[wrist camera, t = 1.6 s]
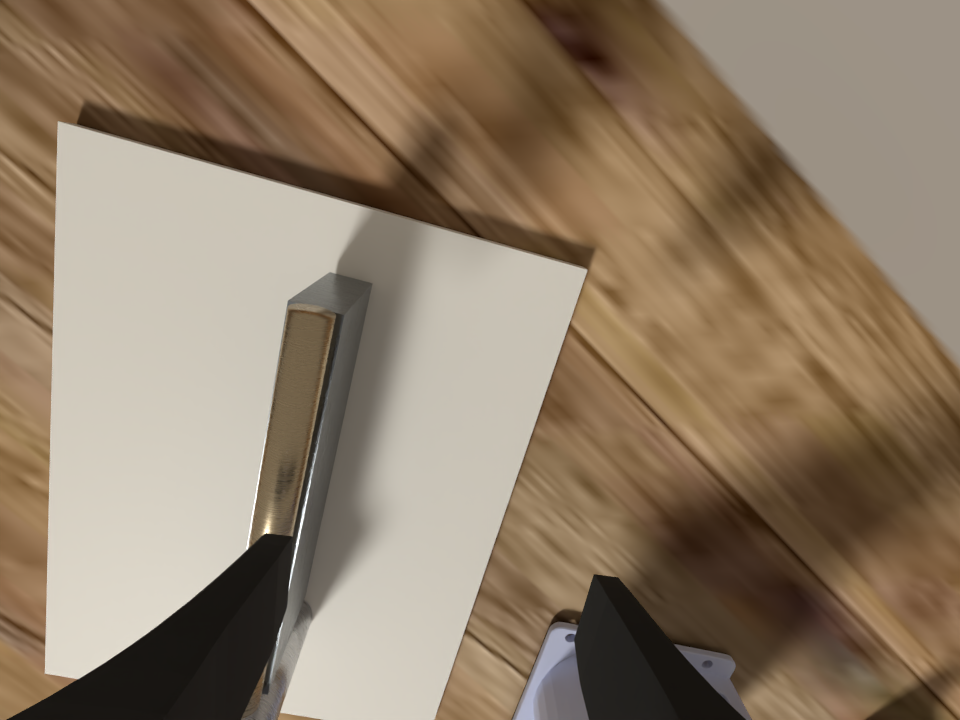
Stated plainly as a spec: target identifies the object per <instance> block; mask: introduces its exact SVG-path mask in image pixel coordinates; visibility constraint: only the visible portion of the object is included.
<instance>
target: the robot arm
mask: <svg viewBox="0 0 960 720" xmlns="http://www.w3.org/2000/svg"><path fill="white" fill-rule="evenodd" d="M292 542H293V536H285V535H277V534H269V533H266V534H264V535H263V536H261V537H260V538H259V539H258V540H257V541H256V542H255V543H254V544H253V545H252V546H251V547H250V548H248V549H247V550H246V551H245V552H244V553H243V554H242V555H241V556H240V557H239V558H238V559H237V560H236V561H235V562H234V563H232V564H231V565H230V566H229V567H228V568H227V569H226V570H225V571H224V572H223V573H221V574H220V575H219V576H218V577H217V578H216V579H214V580H213V581H212V582H211V583H210V584H209V585H207V586H206V587H205V588H204V589H203V590H202V591H201V592H199V593H198V594H197V595H196V596H195V597H193V598H192V599H191V600H190V601H189V602H187V603H186V604H185V605H183V606H182V607H181V608H180V609H178V610H177V611H176V612H175V613H173V614H172V615H171V616H169V617H168V618H167V619H166V620H164V621H163V622H162V623H160V624H159V625H158V626H157V627H155V628H154V629H153V630H151V631H150V632H148V633H147V634H146V635H144V636H143V637H142V638H140V639H139V640H137V641H136V642H134V643H133V644H132V645H130V646H129V647H127V648H126V649H124V650H123V651H121V652H120V653H118V654H117V655H115V656H114V657H113V658H111V659H110V660H108V661H107V662H105V663H103V664H102V665H100V666H99V667H97V668H95V669H94V670H92V671H91V672H89V673H87V674H86V675H84V676H83V677H81V678H79V679H78V680H76V681H74V682H73V683H71V684H69V685H68V686H66V687H64V688H63V689H61V690H59V691H58V692H56V693H54V694H53V695H51V696H49V697H48V698H46V699H44V700H42V701H40V702H39V703H37V704H35V705H33V706H31V707H29V708H28V709H26V710H24V711H22V712H20V713H18V714H16V715H15V716H13V717H11V718H9V719H7V720H241V718H242V716H243V714H244V712H245V710H246V708H247V705H248V703H249V701H250V699H251V697H252V695H253V692H254V690H255V688H256V686H257V684H258V682H259V679H260V677H261V675H262V673H263V671H264V668H265V666H266V664H267V662H268V660H269V657H270V655H271V653H272V651H273V648H274V645H275V642H276V639H277V636H278V633H279V630H280V627H281V624H282V621H283V618H284V615H285V612H286V609H287V605H288V592H289V580H290V567H291V555H292ZM568 634H572V635H568ZM735 667H736V665H735V662H734V660H733V659H732V657H731V656H730V655H727V654H722V653H717V652H712V651H707V650H702V649H697V648H692V647H687V646H682V645H677V644H673V643H672V642H671V641H670V639H669V638H668V637H667V636H666V635H665V633H664V632H663V631H662V630H661V629H660V627H659V626H658V625H657V624H656V623H655V621H654V620H653V619H652V618H651V617H650V615H649V614H648V613H647V612H646V611H645V609H644V608H643V607H642V606H641V604H640V603H639V602H638V601H637V599H636V598H635V597H634V596H633V595H632V593H631V592H630V591H629V590H628V588H627V587H626V586H625V585H624V584H623V583H622V581H621V580H620V579H619V578H618V577H610V576H602V575H594V576H593V579H592V582H591V586H590V589H589V592H588V595H587V599H586V602H585V605H584V609H583V612H582V615H581V618H580V622H579V625H575V624H570V623H565V622H556V623H554V624H552V625H551V626H550V628H549V630H548V633H547V635H546V638H545V640H544V643H543V645H542V647H541V650H540V652H539V655H538V657H537V660H536V662H535V665H534V667H533V670H532V672H531V675H530V677H529V680H528V682H527V685H526V687H525V690H524V692H523V694H522V697H521V699H520V702H519V704H518V707H517V709H516V712H515V714H514V717H513V719H512V720H752V719H751V717H750V715H749V713H748V712H747V710H746V708H745V706H744V704H743V702H742V700H741V699H740V697H739V695H738V693H737V691H736V689H735V687H734V686H733V684H732V682H731V680H730V677H731V675H732V673H733V672H734V670H735Z"/></svg>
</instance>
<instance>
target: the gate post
mask: <svg viewBox="0 0 960 720" xmlns="http://www.w3.org/2000/svg"><path fill="white" fill-rule="evenodd" d="M312 616H313V615H312V609H311V607H310V605H309V604H308V603H307V602H306V601H305V600H304V601H303V604H302V606H301V609H300V612H299V614H298V617H297V620H296V622H295V625H294V627H293V630H292V633H291V635H290V638H289V641H288V643H287V646H286V648H285V651H284V654H283V656H282V659H281V662H280V664H279V667H278V670H277V672H276V675H275V677H274V680H273V683H272V685H271V688H270V691H269V693H268V695H266V694H262V695H261V700H260V704H259V707H258V708H257V710H256V711H255V712H254V713H253V714H252V715H250V716H249V717H246V718H244V719H241V720H278V717H279V714H280V711H281V708H282V705H283V702H284V699H285V697H286V694H287V691H288V688H289V685H290V682H291V679H292V676H293V673H294V670H295V667H296V665H297V662H298V659H299V656H300V653H301V650H302V647H303V644H304V641H305V638H306V636H307V633H308V630H309V627H310V624H311V621H312Z"/></svg>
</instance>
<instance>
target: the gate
mask: <svg viewBox="0 0 960 720" xmlns="http://www.w3.org/2000/svg"><path fill="white" fill-rule="evenodd" d="M372 284H373V283H369V282H365V281H362V280H358V279H354V278H350V277H346V276H343V275H339V274H335V273H331V272H329V273H328V274H326V275H325V276H323V277H322V278H320V279H319V280H317V281H316V282H314V283H313V284H312V285H310V286H309V287H307V288H306V289H304V290H303V291H301V292H300V293H298V294H297V295H295V296H294V297H292V298H291V299H289V300H288V303H287V309H286V315H285V321H284V327H283V333H282V339H281V345H280V351H279V357H278V363H277V369H276V375H275V381H274V387H273V393H272V399H271V405H270V411H269V418H268V424H267V430H266V436H265V442H264V448H263V454H262V460H261V466H260V472H259V478H258V484H257V490H256V496H255V502H254V508H253V514H252V520H251V526H250V532H249V538H248V544H247V549H248V548H250V547H251V546H252V545H253V544H254V543H255V542H256V541H257V540H258V539H259V538H260V537H261V536H263V535H264V534H266V533H269V534H277V535H285V536H293V542H292V555H291V567H290V580H289V592H288V605H287V609H286V612H285V615H284V618H283V621H282V624H281V627H280V630H279V633H278V636H277V639H276V642H275V645H274V648H273V651H272V653H271V655H270V657H269V660H268V662H267V664H266V666H265V668H264V671H263V673H262V675H261V677H260V679H259V682H258V684H257V686H256V688H255V690H254V692H253V695H252V697H251V699H250V701H249V703H248V705H247V708H246V710H245V712H244V714H243V716H242V718H241V719H244V718H246V717H249V716H250V715H252V714H253V713H254V712H255V711H256V710H257V708H258V707H259V704H260V700H261V695H262V694H266V695H268V693H269V691H270V688H271V685H272V683H273V680H274V677H275V675H276V672H277V670H278V667H279V664H280V662H281V659H282V656H283V654H284V651H285V648H286V646H287V643H288V641H289V638H290V635H291V633H292V630H293V627H294V625H295V622H296V620H297V617H298V614H299V612H300V609H301V606H302V604H303V601H304V598H305V596H306V591H307V587H308V582H309V577H310V573H311V568H312V563H313V559H314V554H315V549H316V545H317V540H318V535H319V531H320V526H321V521H322V517H323V512H324V507H325V503H326V498H327V493H328V489H329V484H330V479H331V475H332V470H333V465H334V461H335V456H336V452H337V447H338V442H339V438H340V433H341V428H342V424H343V419H344V414H345V410H346V405H347V400H348V396H349V391H350V386H351V382H352V377H353V372H354V368H355V363H356V358H357V354H358V349H359V344H360V340H361V335H362V330H363V326H364V321H365V316H366V312H367V307H368V302H369V298H370V293H371V288H372Z"/></svg>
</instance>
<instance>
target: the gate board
mask: <svg viewBox="0 0 960 720" xmlns="http://www.w3.org/2000/svg"><path fill="white" fill-rule="evenodd" d="M329 272H331V273H335V274H339V275H343V276H346V277H350V278H354V279H358V280H362V281H365V282H369V283H373V284H372V288H371V293H370V298H369V302H368V307H367V312H366V316H365V321H364V326H363V330H362V335H361V340H360V344H359V349H358V354H357V358H356V363H355V368H354V372H353V377H352V382H351V386H350V391H349V396H348V400H347V405H346V410H345V414H344V419H343V424H342V428H341V433H340V438H339V442H338V447H337V452H336V456H335V461H334V465H333V470H332V475H331V479H330V484H329V489H328V493H327V498H326V503H325V507H324V512H323V517H322V521H321V526H320V531H319V535H318V540H317V545H316V549H315V554H314V559H313V563H312V568H311V573H310V577H309V582H308V587H307V591H306V596H305V598H304V600H305V601H306V602H307V603H308V604H309V605H310V607H311V609H312V615H313V616H312V621H311V624H310V627H309V630H308V633H307V636H306V638H305V641H304V644H303V647H302V650H301V653H300V656H299V659H298V662H297V665H296V667H295V670H294V673H293V676H292V679H291V682H290V685H289V688H288V691H287V694H286V697H285V699H284V702H283V705H282V708H281V711H280V712H281V713H287V714H293V715H299V716H305V717H311V718H317V719H323V720H434V719H435V716H436V713H437V710H438V707H439V704H440V701H441V698H442V695H443V692H444V690H445V687H446V684H447V681H448V678H449V675H450V672H451V669H452V666H453V663H454V660H455V657H456V654H457V651H458V648H459V646H460V643H461V640H462V637H463V634H464V631H465V628H466V625H467V622H468V619H469V616H470V613H471V610H472V607H473V604H474V602H475V599H476V596H477V593H478V590H479V587H480V584H481V581H482V578H483V575H484V572H485V569H486V566H487V563H488V560H489V558H490V555H491V552H492V549H493V546H494V543H495V540H496V537H497V534H498V531H499V528H500V525H501V522H502V519H503V516H504V514H505V511H506V508H507V505H508V502H509V499H510V496H511V493H512V490H513V487H514V484H515V481H516V478H517V475H518V473H519V470H520V467H521V464H522V461H523V458H524V455H525V452H526V449H527V446H528V443H529V440H530V437H531V434H532V431H533V429H534V426H535V423H536V420H537V417H538V414H539V411H540V408H541V405H542V402H543V399H544V396H545V393H546V390H547V387H548V385H549V382H550V379H551V376H552V373H553V370H554V367H555V364H556V361H557V358H558V355H559V352H560V349H561V346H562V343H563V341H564V338H565V335H566V332H567V329H568V326H569V323H570V320H571V317H572V314H573V311H574V308H575V305H576V302H577V299H578V297H579V294H580V291H581V288H582V285H583V282H584V279H585V276H586V273H587V269H586V268H584V267H583V266H579V265H576V264H572V263H569V262H565V261H561V260H558V259H554V258H551V257H547V256H544V255H540V254H537V253H533V252H529V251H526V250H522V249H519V248H515V247H512V246H508V245H505V244H501V243H497V242H494V241H490V240H487V239H483V238H480V237H476V236H473V235H469V234H465V233H462V232H458V231H455V230H451V229H448V228H444V227H441V226H437V225H433V224H430V223H426V222H423V221H419V220H416V219H412V218H409V217H405V216H401V215H398V214H394V213H391V212H387V211H384V210H380V209H377V208H373V207H369V206H366V205H362V204H359V203H355V202H352V201H348V200H344V199H341V198H337V197H334V196H330V195H327V194H323V193H320V192H316V191H312V190H309V189H305V188H302V187H298V186H295V185H291V184H288V183H284V182H280V181H277V180H273V179H270V178H266V177H263V176H259V175H256V174H252V173H248V172H245V171H241V170H238V169H234V168H231V167H227V166H224V165H220V164H216V163H213V162H209V161H206V160H202V159H199V158H195V157H192V156H188V155H184V154H181V153H177V152H174V151H170V150H167V149H163V148H160V147H156V146H152V145H149V144H145V143H142V142H138V141H135V140H131V139H128V138H124V137H120V136H117V135H113V134H110V133H106V132H103V131H99V130H96V129H92V128H88V127H85V126H81V125H78V124H73V123H66V122H60V121H58V136H57V179H56V222H55V265H54V308H53V350H52V393H51V436H50V479H49V522H48V564H47V607H46V650H45V674H51V675H57V676H63V677H69V678H75V679H79V678H81V677H83V676H84V675H86V674H87V673H89V672H91V671H92V670H94V669H95V668H97V667H99V666H100V665H102V664H103V663H105V662H107V661H108V660H110V659H111V658H113V657H114V656H115V655H117V654H118V653H120V652H121V651H123V650H124V649H126V648H127V647H129V646H130V645H132V644H133V643H134V642H136V641H137V640H139V639H140V638H142V637H143V636H144V635H146V634H147V633H148V632H150V631H151V630H153V629H154V628H155V627H157V626H158V625H159V624H160V623H162V622H163V621H164V620H166V619H167V618H168V617H169V616H171V615H172V614H173V613H175V612H176V611H177V610H178V609H180V608H181V607H182V606H183V605H185V604H186V603H187V602H189V601H190V600H191V599H192V598H193V597H195V596H196V595H197V594H198V593H199V592H201V591H202V590H203V589H204V588H205V587H206V586H207V585H209V584H210V583H211V582H212V581H213V580H214V579H216V578H217V577H218V576H219V575H220V574H221V573H223V572H224V571H225V570H226V569H227V568H228V567H229V566H230V565H231V564H232V563H234V562H235V561H236V560H237V559H238V558H239V557H240V556H241V555H242V554H243V553H244V552H245V551H246V550H247V544H248V538H249V532H250V526H251V520H252V514H253V508H254V502H255V496H256V490H257V484H258V478H259V472H260V466H261V460H262V454H263V448H264V442H265V436H266V430H267V424H268V418H269V411H270V405H271V399H272V393H273V387H274V381H275V375H276V369H277V363H278V357H279V351H280V345H281V339H282V333H283V327H284V321H285V315H286V309H287V303H288V300H289V299H291V298H292V297H294V296H295V295H297V294H298V293H300V292H301V291H303V290H304V289H306V288H307V287H309V286H310V285H312V284H313V283H314V282H316V281H317V280H319V279H320V278H322V277H323V276H325V275H326V274H328V273H329Z"/></svg>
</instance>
